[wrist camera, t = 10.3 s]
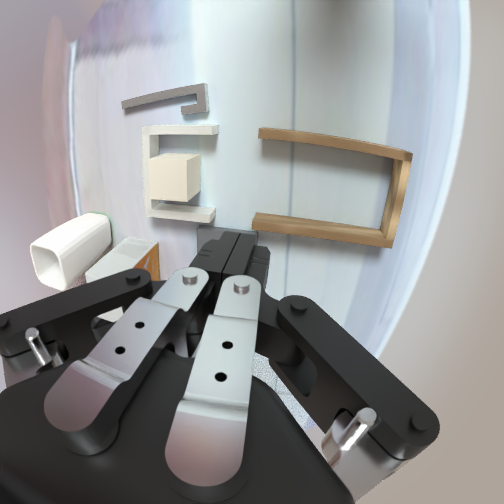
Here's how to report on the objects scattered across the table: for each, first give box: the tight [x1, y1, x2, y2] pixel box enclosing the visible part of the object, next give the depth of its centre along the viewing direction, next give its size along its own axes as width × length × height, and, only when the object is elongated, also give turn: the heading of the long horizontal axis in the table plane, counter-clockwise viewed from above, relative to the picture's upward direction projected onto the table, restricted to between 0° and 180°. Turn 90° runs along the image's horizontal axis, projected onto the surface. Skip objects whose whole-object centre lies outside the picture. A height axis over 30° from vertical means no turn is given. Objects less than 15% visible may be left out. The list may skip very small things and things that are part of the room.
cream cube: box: [148, 153, 201, 202], centre depth 38 cm, size 6×6×6 cm
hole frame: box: [197, 225, 258, 254], centre depth 45 cm, size 9×9×1 cm
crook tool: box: [121, 83, 209, 115], centre depth 36 cm, size 4×13×1 cm, turn 94°
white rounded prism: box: [30, 213, 111, 291], centre depth 41 cm, size 7×7×15 cm
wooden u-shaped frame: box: [252, 128, 413, 249], centre depth 36 cm, size 13×20×4 cm
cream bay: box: [142, 124, 218, 223], centre depth 39 cm, size 13×10×3 cm
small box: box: [85, 237, 160, 322], centre depth 43 cm, size 8×6×13 cm
